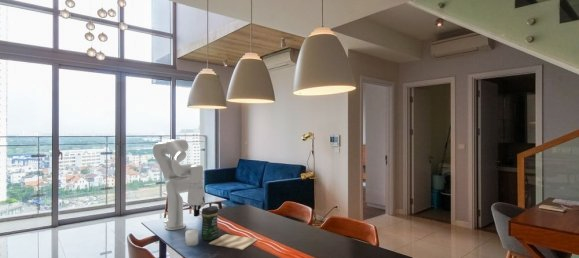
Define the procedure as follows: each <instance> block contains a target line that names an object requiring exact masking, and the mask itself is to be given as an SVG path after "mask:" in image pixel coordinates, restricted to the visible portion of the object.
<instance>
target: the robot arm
mask: <svg viewBox="0 0 579 258" xmlns="http://www.w3.org/2000/svg"><path fill="white" fill-rule="evenodd" d="M188 149H189V143H188V142H187V140H186V139H182V138H181V139H178V138H177V139H169V140H167V141H162V142H157V143H155V144H154V145H153V147H152V153H153V157H154V158H155V159H154V160H155V161H156V162H157V163H158V165H159V167H160V171H161V173H162V175H163V177H164V179H165V180H166V181H167V182H166V184H165V189H166V196H167V219H165V220H164V221H163V223H164V224H166V225H165V227H164V228H165V230H167V231H176V230H181V229H184V228H186V223H184V200H183V197H182V195H180V194H184V193H187V204H188V205H189V206H190V207H192V210H193V217H199V216H200V213H201V212H200V209H201V208H205V203H206V195H205V194H206V193H205V188H204V165H201V164H198V163H197V164H196V163H185V164H180V163H181V162H182V161H184V159H186V157H187V152H186V151H188ZM167 155H168V156H167ZM169 155H170V156H171V158H172V159H171V158H170V157H169ZM201 210H202V209H201Z"/></svg>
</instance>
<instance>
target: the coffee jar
mask: <svg viewBox="0 0 579 258" xmlns="http://www.w3.org/2000/svg"><path fill="white" fill-rule="evenodd" d="M218 215H219V207H218V206H215V205H211V206H207V207H202V209H201V220H202V224H201V235H200V237H201V239H202V240H204V241H213V240H216V239H218V238H219V228H218V227H219V226H218Z"/></svg>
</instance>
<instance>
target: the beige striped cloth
mask: <svg viewBox="0 0 579 258" xmlns="http://www.w3.org/2000/svg"><path fill="white" fill-rule="evenodd" d="M257 241H258V238H253V237H247V236H242V235H241V236H240V235H234V234H227V233H226V234H223V235H222V236H218V237H217V238H215V239H213V240H211V241H210V242H209V243H208V245H211V246H217V247H218V246H219V247H224V248H228V249H236V250H241V251H243V250H245V249H246V248H248V247H249V246H251V245H252V244H254V243H255V242H257Z"/></svg>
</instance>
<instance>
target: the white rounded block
mask: <svg viewBox="0 0 579 258" xmlns="http://www.w3.org/2000/svg"><path fill="white" fill-rule="evenodd" d="M184 233H185V234H184V235H185V238H184V239H185V243H184V245H185V246H187V247H193V246H196V245H198V244H199V229H194V228H193V229H192V228H191V229H187V230H186V231H185V232H184Z"/></svg>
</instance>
